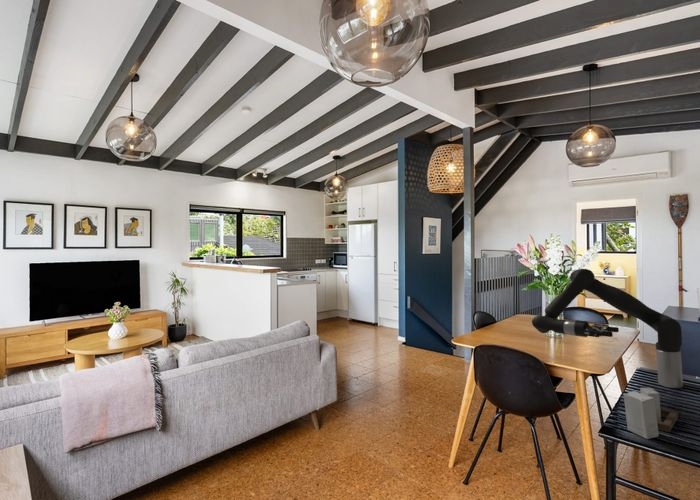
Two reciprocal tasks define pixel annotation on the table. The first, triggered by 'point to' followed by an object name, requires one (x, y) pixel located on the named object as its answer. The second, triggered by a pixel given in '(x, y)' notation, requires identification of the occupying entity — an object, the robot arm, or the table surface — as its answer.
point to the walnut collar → (667, 419)
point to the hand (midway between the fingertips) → (615, 332)
